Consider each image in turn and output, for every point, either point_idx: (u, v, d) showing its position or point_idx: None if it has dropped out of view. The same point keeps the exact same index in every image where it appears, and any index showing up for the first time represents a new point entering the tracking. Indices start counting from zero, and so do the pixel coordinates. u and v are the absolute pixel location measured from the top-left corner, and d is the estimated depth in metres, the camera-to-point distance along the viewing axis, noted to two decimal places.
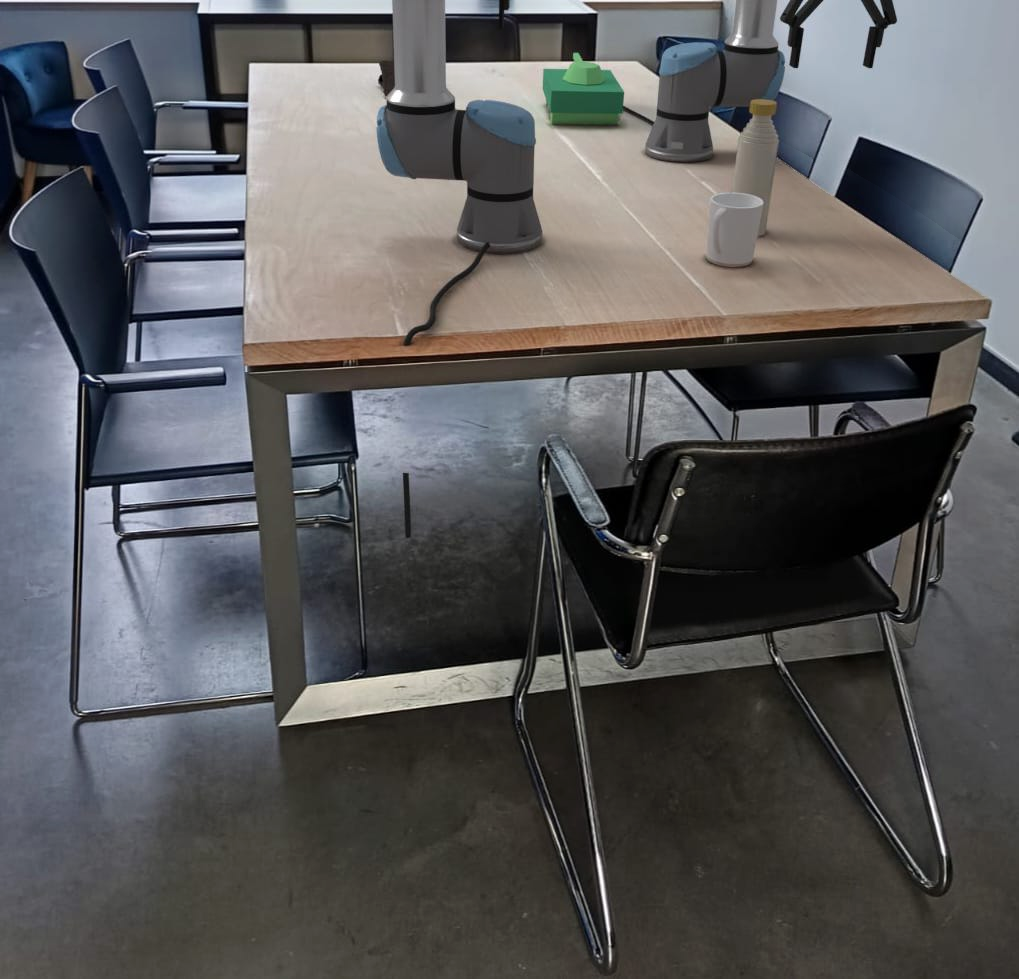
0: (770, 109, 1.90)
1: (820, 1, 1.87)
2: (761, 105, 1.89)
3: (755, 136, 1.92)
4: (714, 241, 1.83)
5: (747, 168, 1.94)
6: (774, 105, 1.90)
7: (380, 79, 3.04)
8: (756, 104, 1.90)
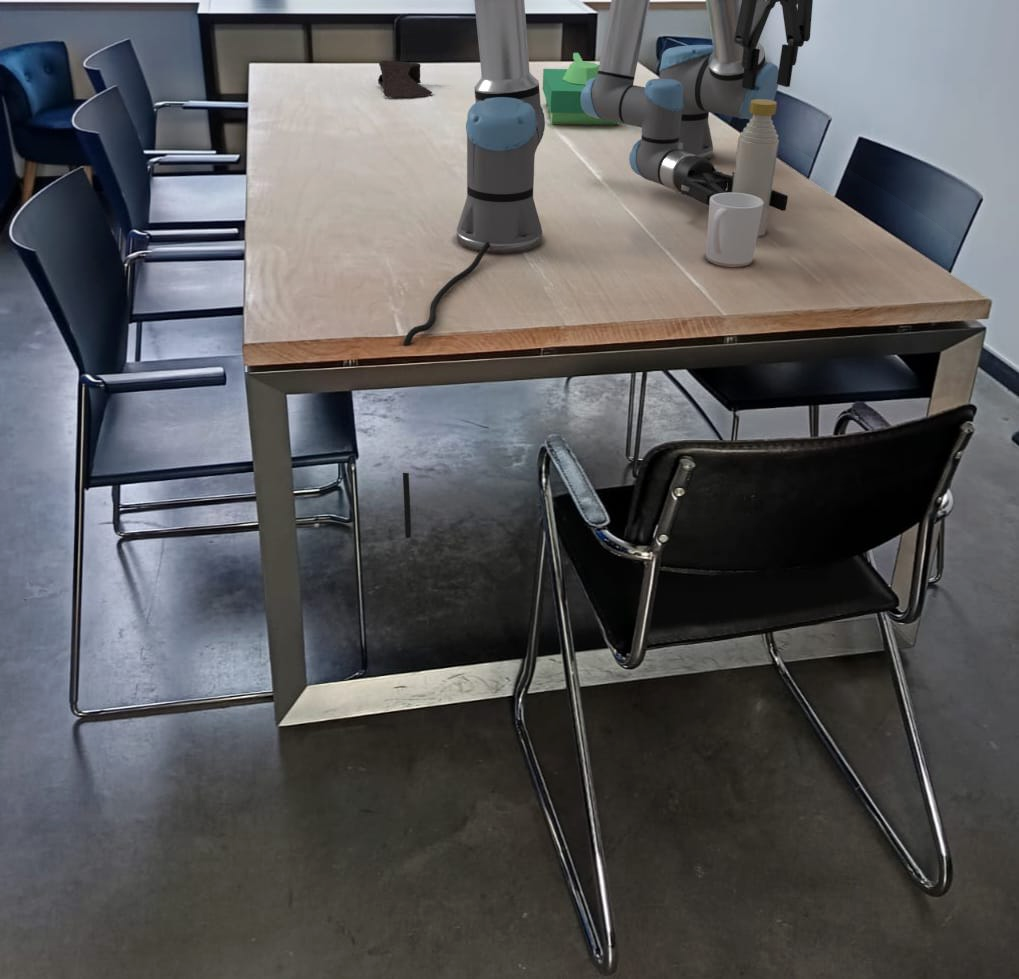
0: (770, 109, 1.90)
1: None
2: (761, 105, 1.89)
3: (755, 136, 1.92)
4: (714, 241, 1.83)
5: (747, 168, 1.94)
6: (774, 105, 1.90)
7: (380, 79, 3.04)
8: (756, 104, 1.90)
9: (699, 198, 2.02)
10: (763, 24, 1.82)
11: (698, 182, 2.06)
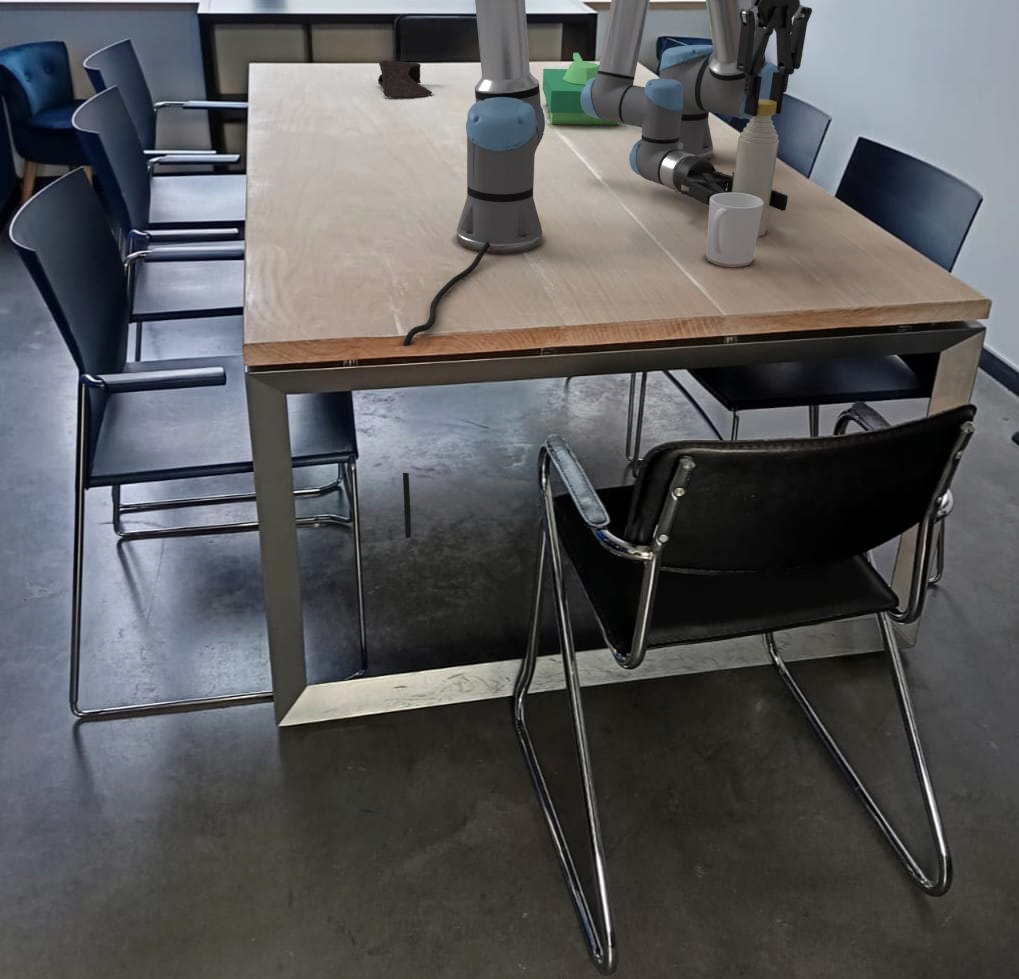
0: (770, 109, 1.90)
1: None
2: (761, 105, 1.89)
3: (755, 136, 1.92)
4: (714, 241, 1.83)
5: (747, 168, 1.94)
6: (774, 105, 1.90)
7: (380, 79, 3.04)
8: None
9: (699, 198, 2.02)
10: (763, 51, 1.85)
11: (698, 182, 2.06)
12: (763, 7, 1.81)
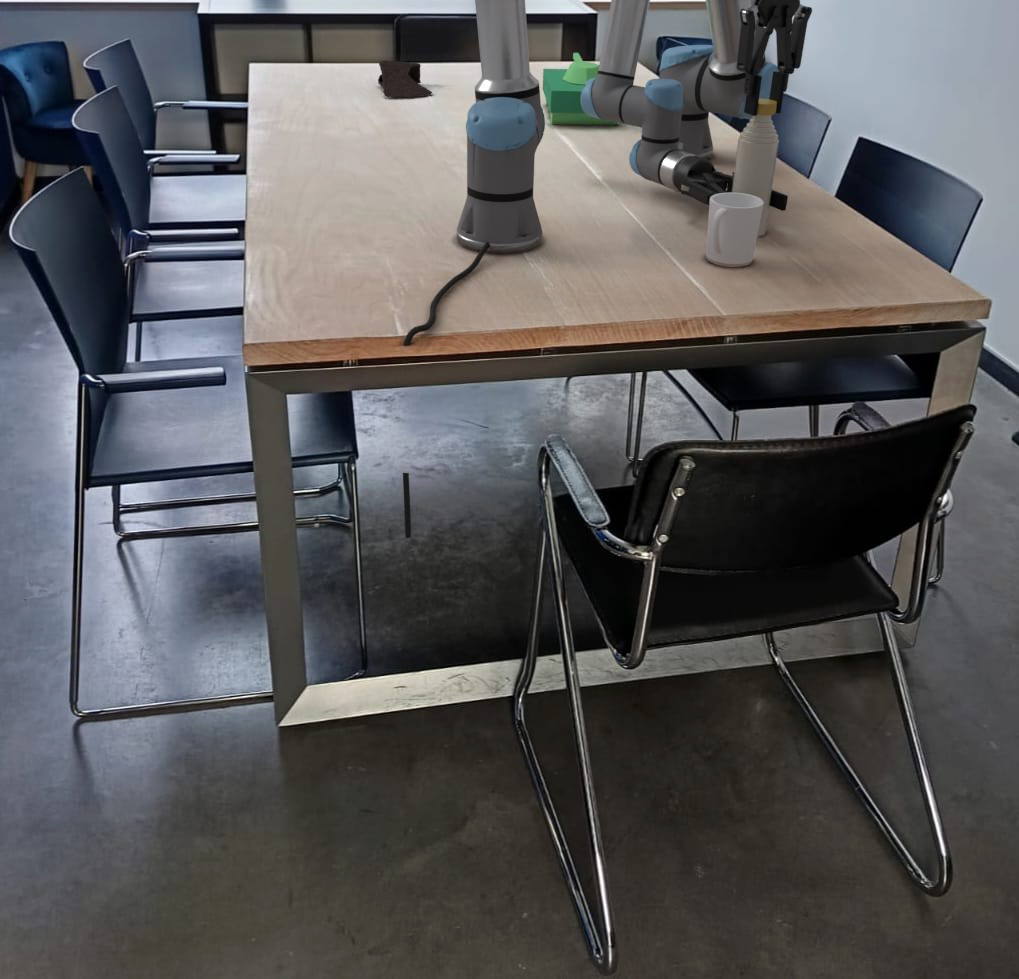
0: None
1: None
2: (775, 104, 1.90)
3: (755, 136, 1.92)
4: (714, 241, 1.83)
5: (747, 168, 1.94)
6: None
7: (380, 79, 3.04)
8: (773, 104, 1.90)
9: (699, 198, 2.02)
10: (763, 50, 1.85)
11: (698, 182, 2.06)
12: (763, 7, 1.81)
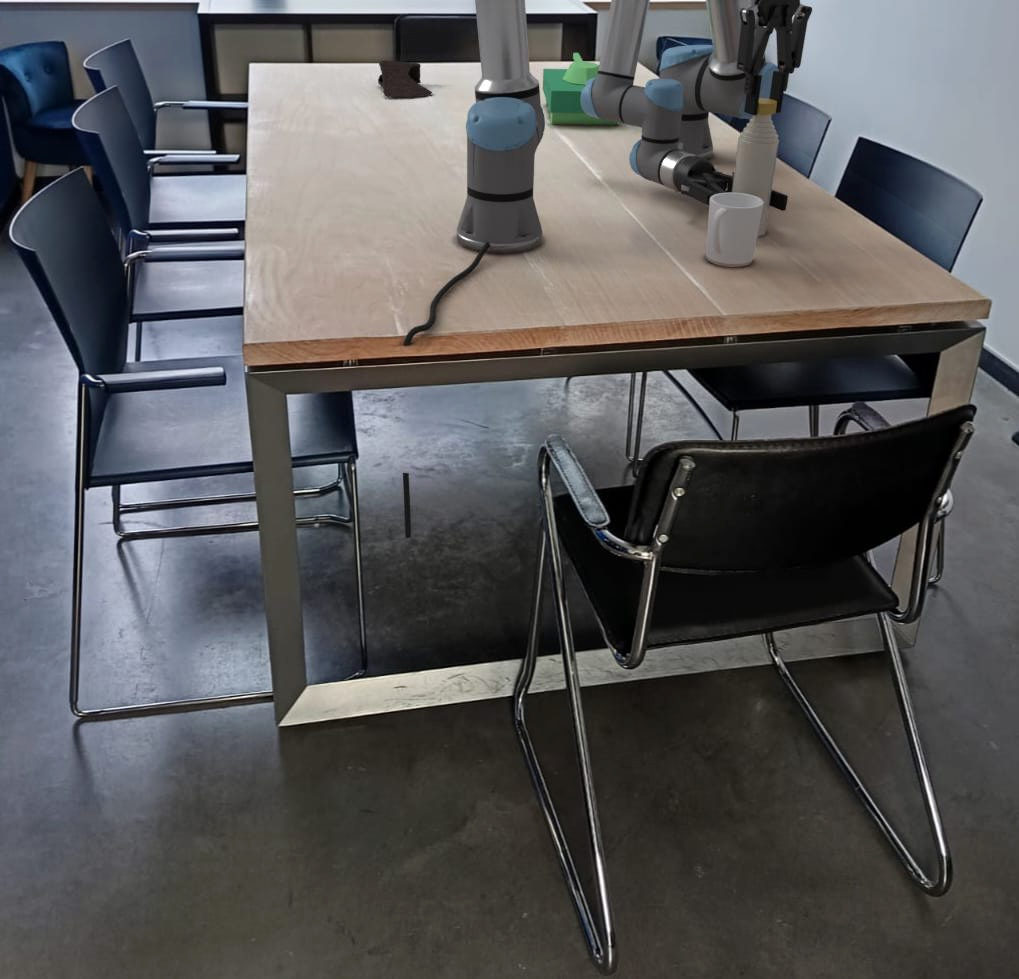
0: None
1: None
2: None
3: (755, 136, 1.92)
4: (714, 241, 1.83)
5: (747, 168, 1.94)
6: None
7: (380, 79, 3.04)
8: None
9: (699, 198, 2.02)
10: (763, 50, 1.85)
11: (698, 182, 2.06)
12: (763, 6, 1.81)
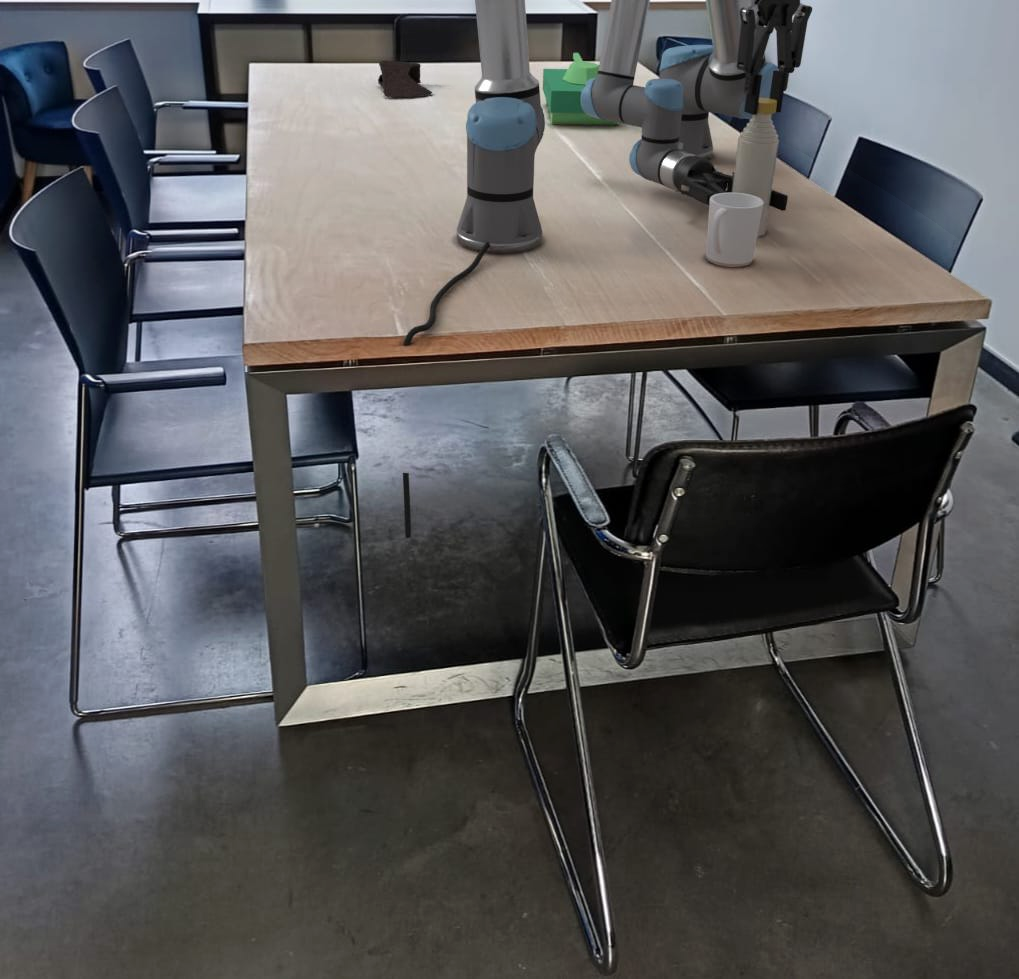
0: None
1: None
2: None
3: (755, 136, 1.92)
4: (714, 241, 1.83)
5: (747, 168, 1.94)
6: None
7: (380, 79, 3.04)
8: None
9: (699, 198, 2.02)
10: (763, 49, 1.85)
11: (698, 182, 2.06)
12: (763, 5, 1.81)
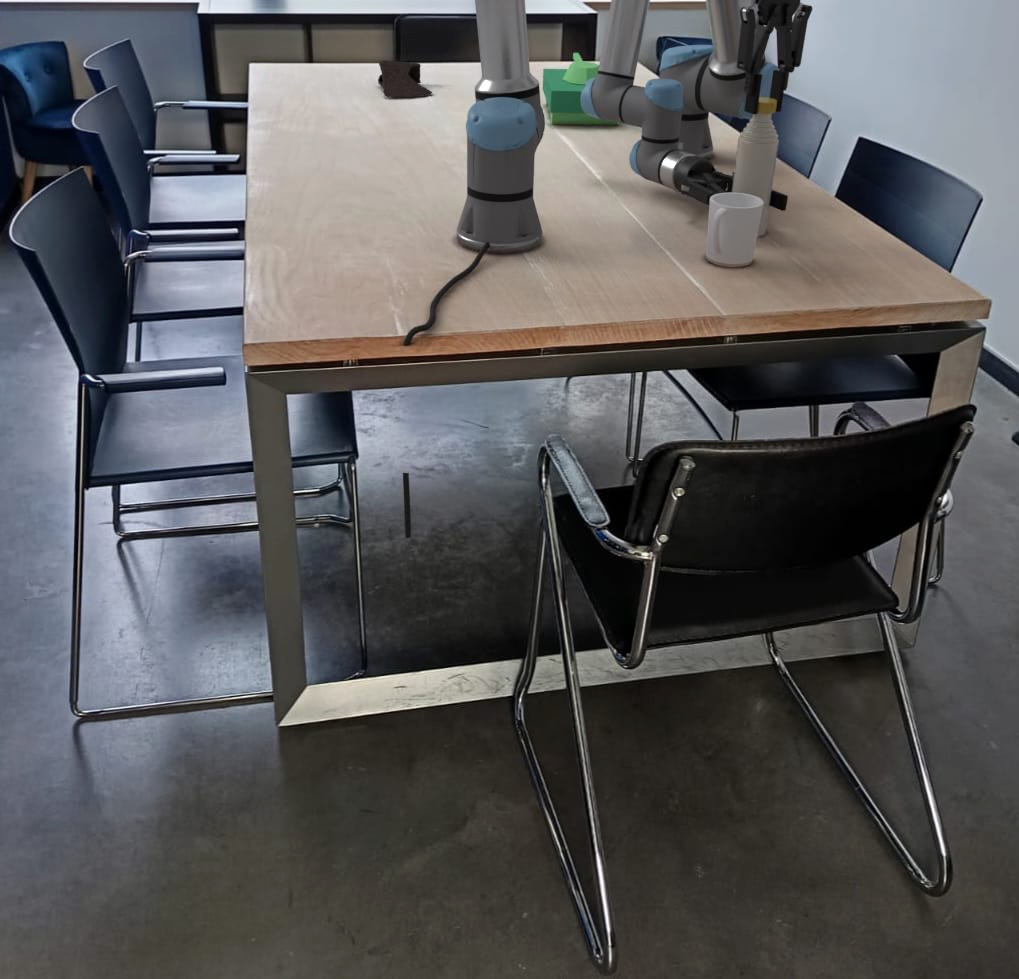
0: (762, 107, 1.90)
1: None
2: None
3: (755, 136, 1.92)
4: (714, 241, 1.83)
5: (747, 168, 1.94)
6: (767, 104, 1.89)
7: (380, 79, 3.04)
8: None
9: (699, 198, 2.02)
10: (763, 49, 1.85)
11: (698, 182, 2.06)
12: (763, 5, 1.81)
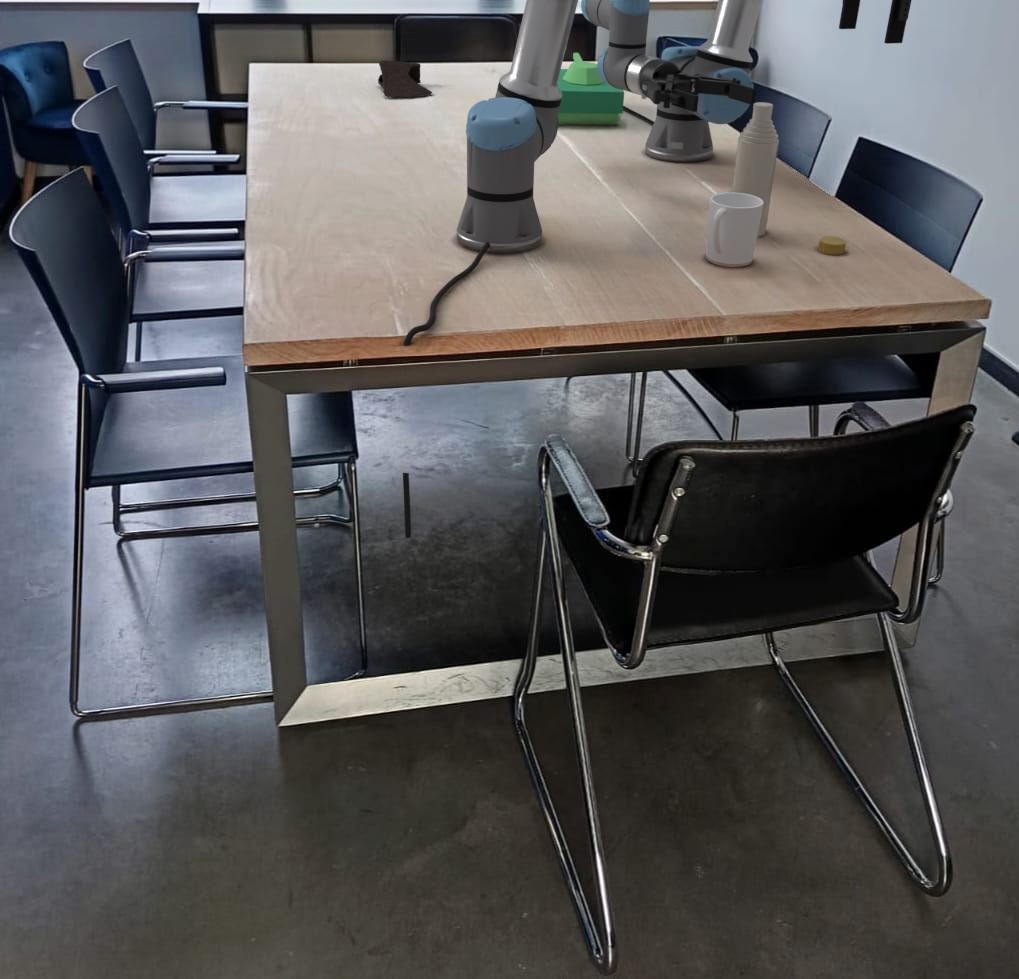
0: None
1: None
2: None
3: (755, 136, 1.92)
4: (714, 241, 1.83)
5: (747, 168, 1.94)
6: None
7: (380, 79, 3.04)
8: (845, 242, 1.93)
9: (650, 96, 2.04)
10: None
11: (663, 83, 2.08)
12: None
